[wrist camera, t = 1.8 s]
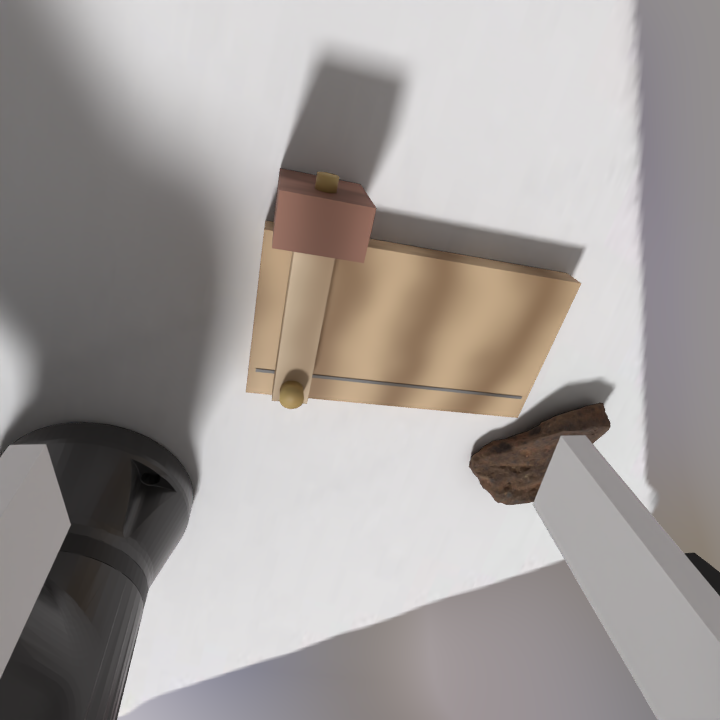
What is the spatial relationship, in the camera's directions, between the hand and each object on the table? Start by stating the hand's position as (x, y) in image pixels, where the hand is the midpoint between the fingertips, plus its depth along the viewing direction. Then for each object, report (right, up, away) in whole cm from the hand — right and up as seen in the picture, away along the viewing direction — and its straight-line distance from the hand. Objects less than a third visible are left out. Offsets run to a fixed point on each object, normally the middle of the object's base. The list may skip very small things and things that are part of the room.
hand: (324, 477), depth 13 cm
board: (+4, +6, +23) cm, 24 cm away
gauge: (-3, +9, +20) cm, 22 cm away
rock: (+17, -5, +32) cm, 37 cm away
